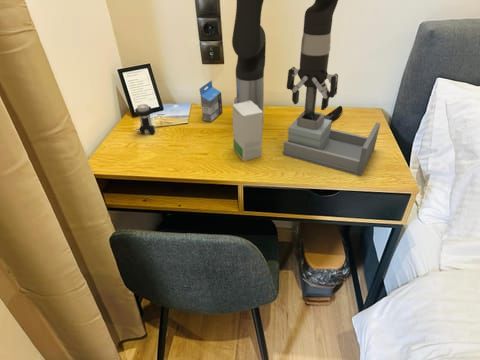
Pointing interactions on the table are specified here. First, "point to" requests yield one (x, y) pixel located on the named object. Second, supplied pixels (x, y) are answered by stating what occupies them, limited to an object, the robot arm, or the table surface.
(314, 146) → the square socket block
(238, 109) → the skincare box
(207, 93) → the label tape cartridge
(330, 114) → the electric trimmer
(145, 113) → the grey black upright piece
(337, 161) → the bay
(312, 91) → the handle peg
